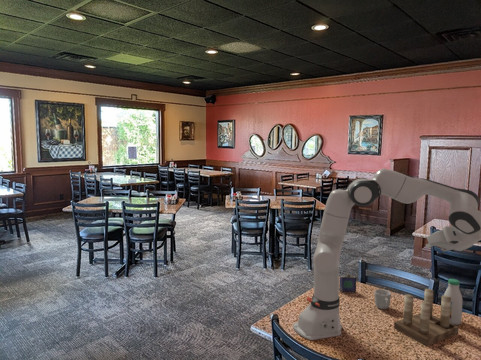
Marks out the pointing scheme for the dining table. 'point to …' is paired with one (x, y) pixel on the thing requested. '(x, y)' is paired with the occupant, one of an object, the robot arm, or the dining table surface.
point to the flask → (347, 283)
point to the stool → (423, 322)
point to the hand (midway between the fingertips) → (434, 248)
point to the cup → (382, 298)
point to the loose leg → (445, 311)
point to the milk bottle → (454, 301)
